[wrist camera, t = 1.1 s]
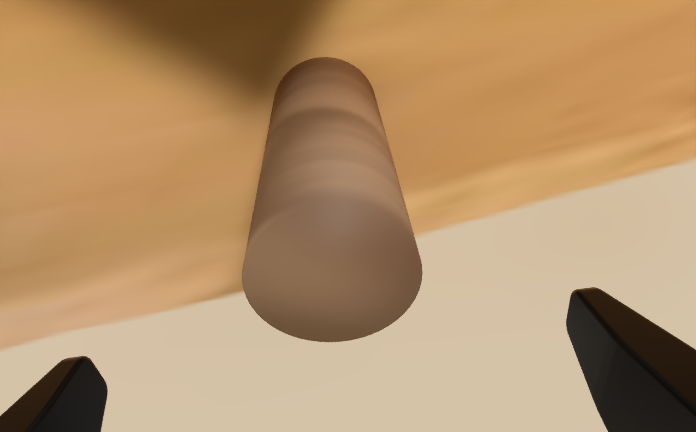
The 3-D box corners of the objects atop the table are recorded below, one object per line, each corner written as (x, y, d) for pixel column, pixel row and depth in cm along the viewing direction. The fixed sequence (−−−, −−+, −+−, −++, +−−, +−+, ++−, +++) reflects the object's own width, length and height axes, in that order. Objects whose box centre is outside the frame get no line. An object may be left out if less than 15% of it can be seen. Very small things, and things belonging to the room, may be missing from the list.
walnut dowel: (340, 170, 21) (357, 361, 12) (255, 123, 19) (212, 304, 11) (396, 92, 19) (458, 257, 11) (307, 35, 17) (300, 173, 9)
